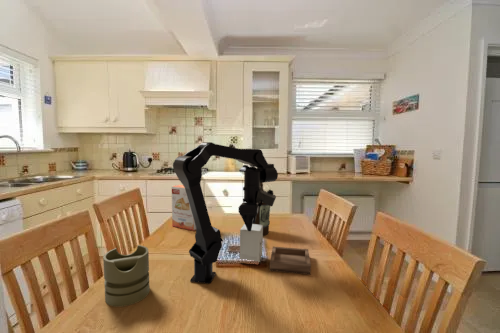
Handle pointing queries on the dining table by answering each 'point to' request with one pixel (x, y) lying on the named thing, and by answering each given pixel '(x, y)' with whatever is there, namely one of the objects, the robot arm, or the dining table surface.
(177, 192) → the cracker box
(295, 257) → the holder tray
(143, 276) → the green divided utensil holder
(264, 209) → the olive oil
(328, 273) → the dining table surface
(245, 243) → the supplement box
